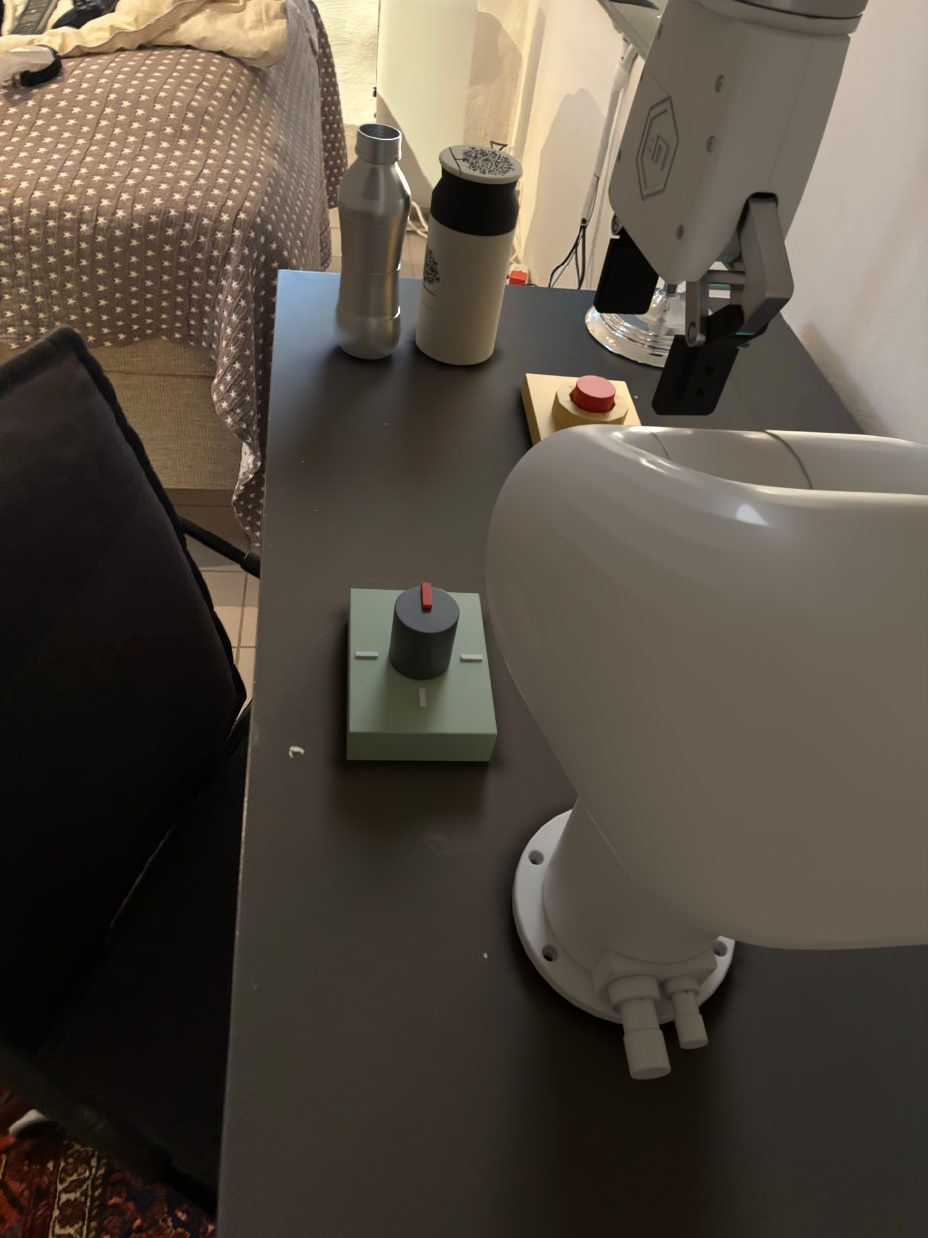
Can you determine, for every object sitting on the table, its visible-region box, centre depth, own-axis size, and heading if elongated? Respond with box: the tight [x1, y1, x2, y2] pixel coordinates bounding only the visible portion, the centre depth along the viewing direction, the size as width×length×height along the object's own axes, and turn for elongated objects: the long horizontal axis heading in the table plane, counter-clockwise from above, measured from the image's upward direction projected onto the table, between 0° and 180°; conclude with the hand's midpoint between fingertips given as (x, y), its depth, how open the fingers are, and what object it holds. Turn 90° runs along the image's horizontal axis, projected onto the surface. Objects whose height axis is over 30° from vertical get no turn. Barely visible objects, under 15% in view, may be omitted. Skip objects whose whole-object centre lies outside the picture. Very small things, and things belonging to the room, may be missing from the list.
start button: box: [572, 375, 616, 413], centre depth 78 cm, size 4×4×2 cm
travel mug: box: [415, 144, 524, 366], centre depth 83 cm, size 8×8×18 cm
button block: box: [520, 373, 642, 447], centre depth 80 cm, size 13×10×4 cm
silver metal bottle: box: [332, 122, 413, 360], centre depth 79 cm, size 6×7×20 cm
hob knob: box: [389, 582, 460, 680], centre depth 55 cm, size 4×4×5 cm
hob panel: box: [346, 588, 498, 762], centre depth 58 cm, size 12×9×3 cm
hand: (648, 358), depth 46 cm, fingers open, 9 cm apart
